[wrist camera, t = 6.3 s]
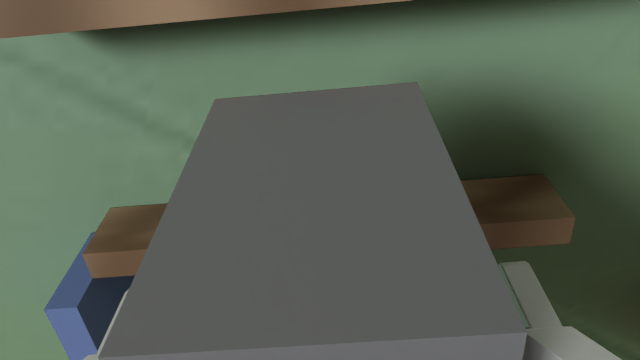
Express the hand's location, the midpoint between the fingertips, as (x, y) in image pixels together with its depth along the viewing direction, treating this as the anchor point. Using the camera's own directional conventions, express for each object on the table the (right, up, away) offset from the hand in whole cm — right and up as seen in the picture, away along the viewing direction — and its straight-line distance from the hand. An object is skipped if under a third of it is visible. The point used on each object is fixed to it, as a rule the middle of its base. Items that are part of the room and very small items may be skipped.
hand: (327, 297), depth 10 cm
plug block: (0, +2, +3) cm, 3 cm away
